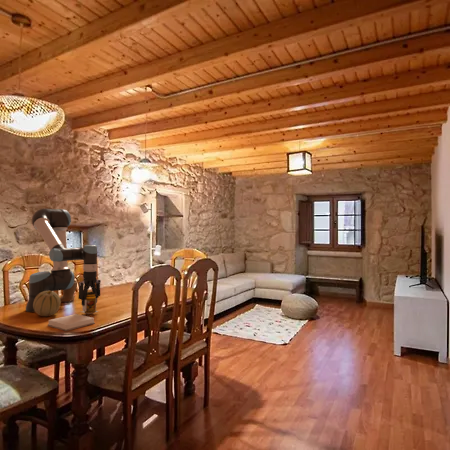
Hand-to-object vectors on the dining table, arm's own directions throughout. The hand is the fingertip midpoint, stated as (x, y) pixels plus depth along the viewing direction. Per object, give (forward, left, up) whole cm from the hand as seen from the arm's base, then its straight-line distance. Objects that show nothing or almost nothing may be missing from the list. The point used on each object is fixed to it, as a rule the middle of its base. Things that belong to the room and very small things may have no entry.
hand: (89, 309), depth 209 cm
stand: (+11, -19, -3) cm, 22 cm away
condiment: (0, 0, -2) cm, 2 cm away
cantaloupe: (-18, -16, -3) cm, 24 cm away
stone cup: (-47, +16, -3) cm, 49 cm away
